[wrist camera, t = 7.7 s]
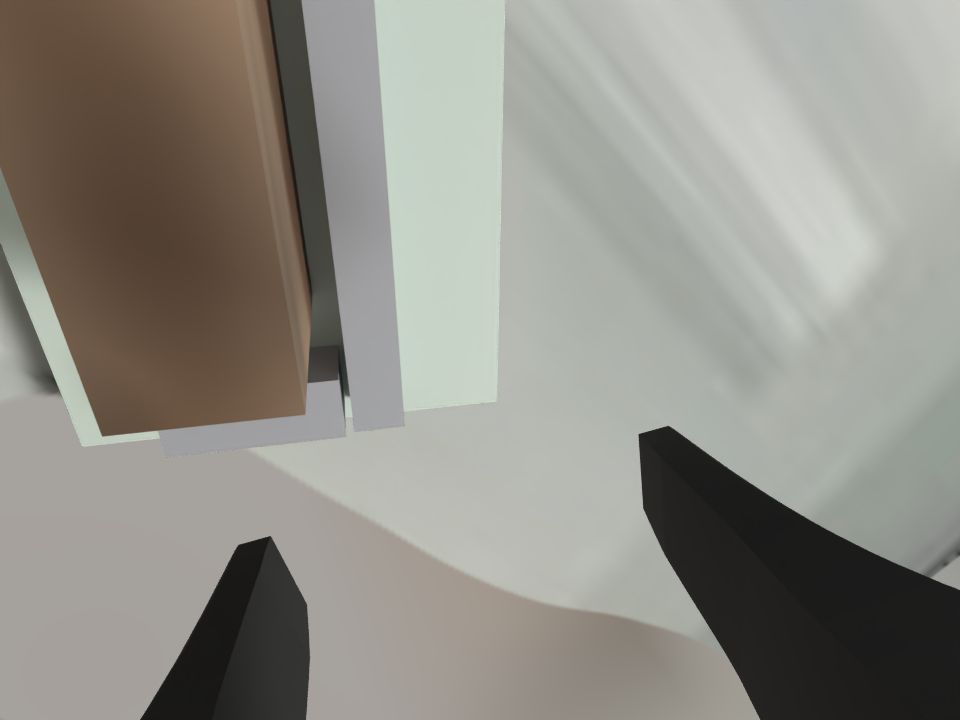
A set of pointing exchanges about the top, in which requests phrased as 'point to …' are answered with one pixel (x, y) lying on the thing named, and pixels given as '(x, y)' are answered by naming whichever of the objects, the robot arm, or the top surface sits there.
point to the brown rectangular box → (160, 204)
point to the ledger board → (365, 219)
